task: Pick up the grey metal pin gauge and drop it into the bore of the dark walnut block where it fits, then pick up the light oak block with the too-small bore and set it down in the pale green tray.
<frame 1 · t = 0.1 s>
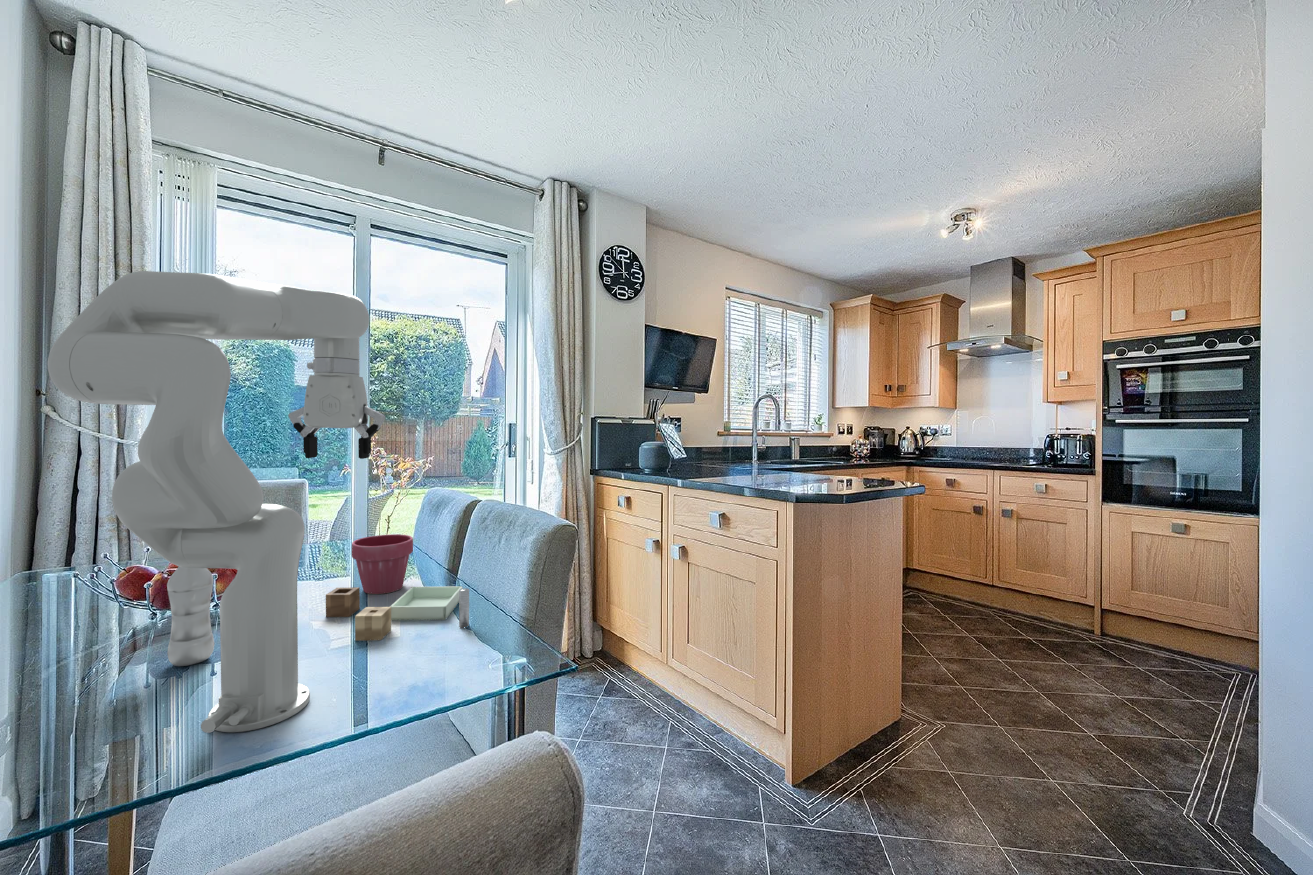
hand: (337, 457, 106), 37 cm above the table, tool pointing down, fingers open, 9 cm apart
tray: (428, 608, 128), on the table
plant pot: (383, 589, 141), on the table
walnut block: (343, 612, 124), on the table
plastic bottle: (191, 663, 99), on the table
oak block: (373, 635, 112), on the table
pin: (464, 626, 118), on the table
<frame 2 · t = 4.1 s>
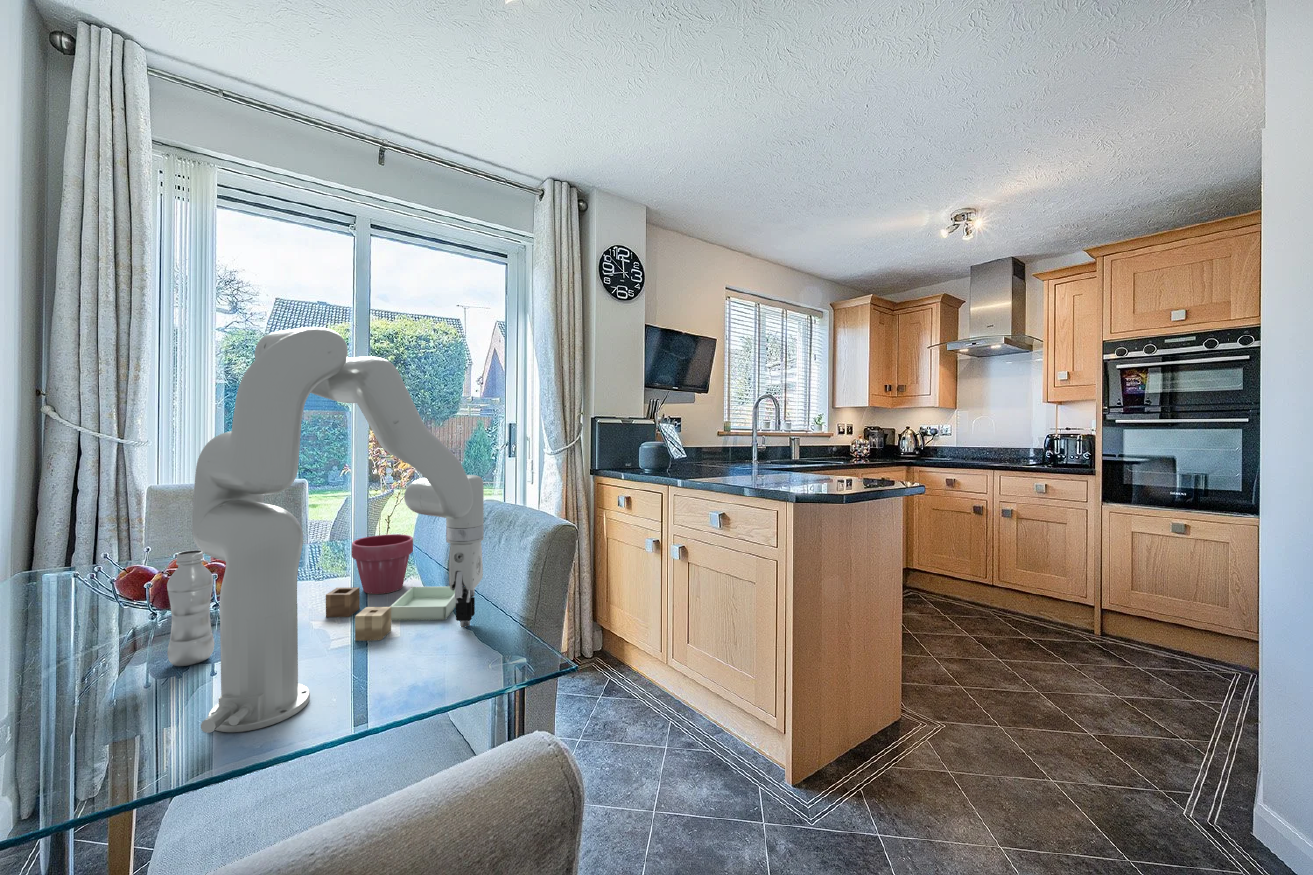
hand: (465, 617, 118), 2 cm above the table, tool pointing down, fingers closed on pin, 1 cm apart
pin: (465, 625, 118), on the table, touching gripper
everything else where it was.
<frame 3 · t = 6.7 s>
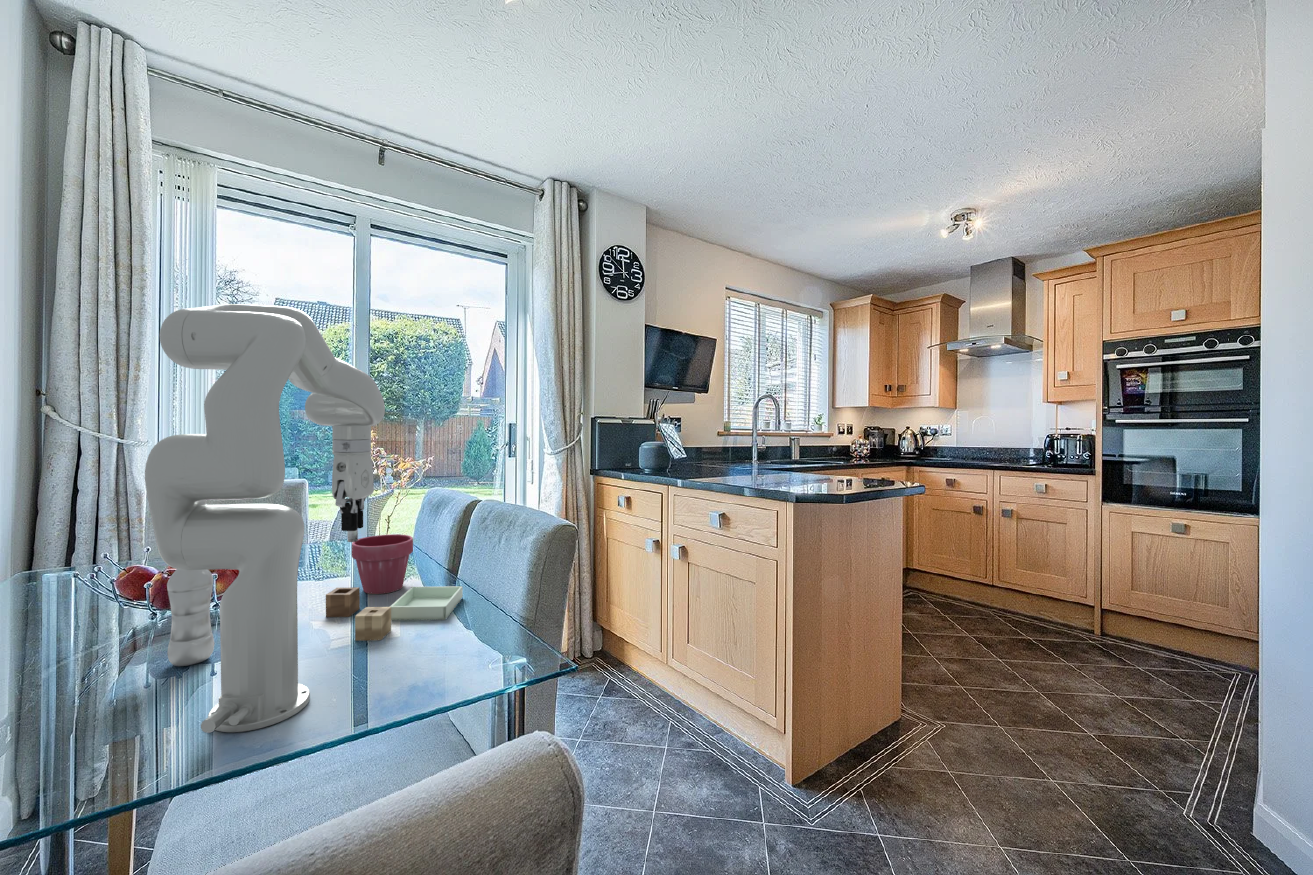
hand: (352, 528, 123), 19 cm above the table, tool pointing down, fingers closed on pin
pin: (352, 541, 123), point 17 cm above the table, touching gripper
everything else where it was.
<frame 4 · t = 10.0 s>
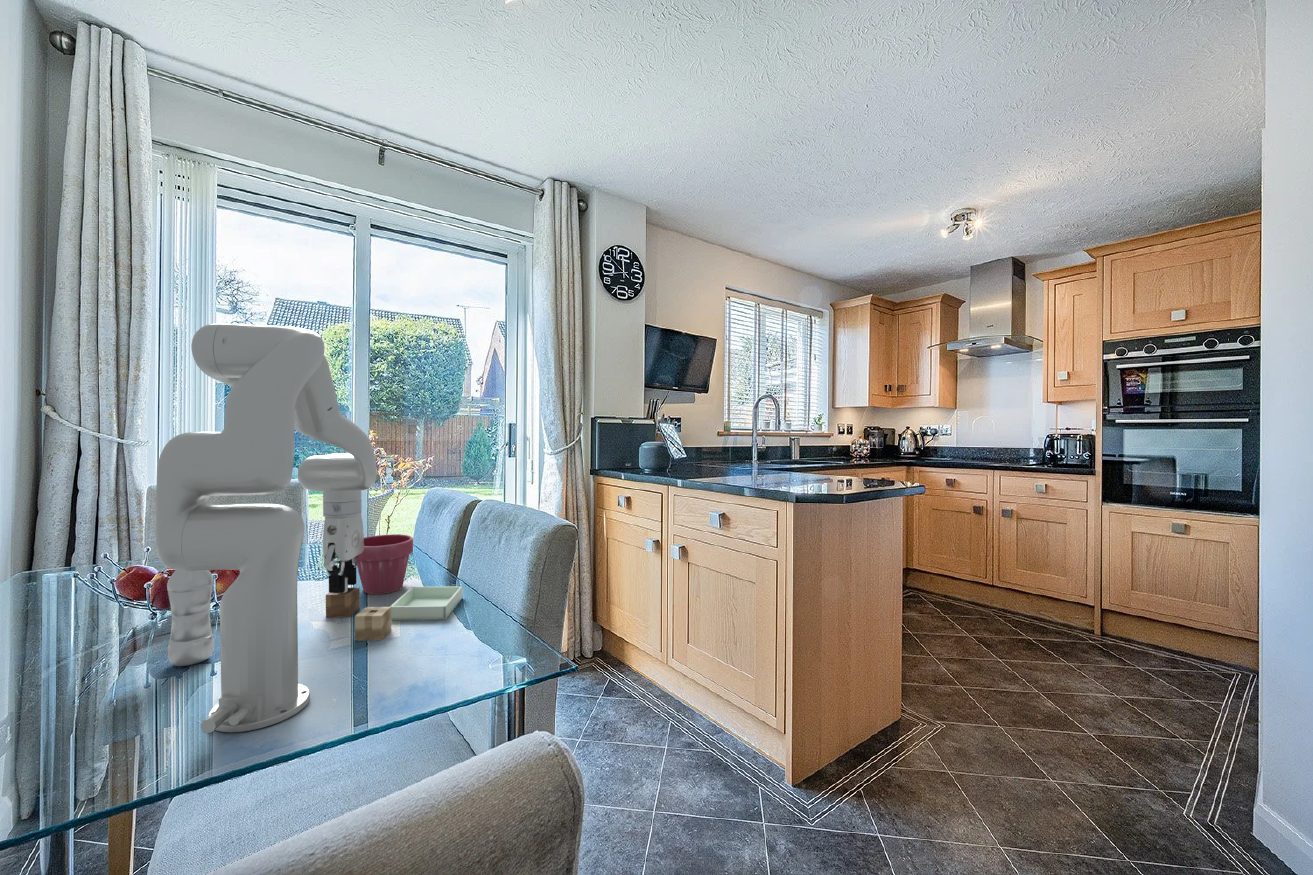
hand: (342, 587, 124), 6 cm above the table, tool pointing down, fingers open, 4 cm apart
pin: (342, 612, 124), resting in walnut block
everything else where it was.
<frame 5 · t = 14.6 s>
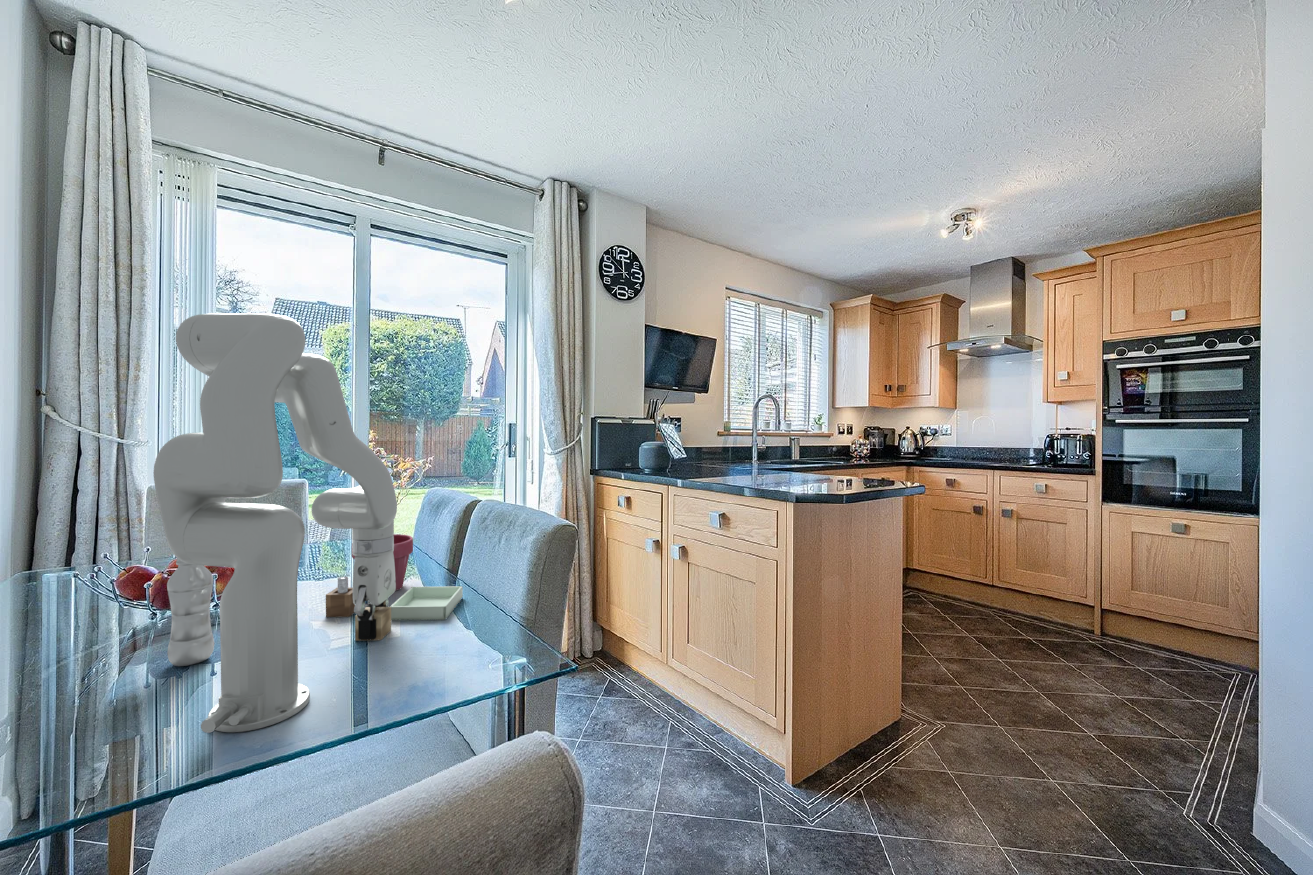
hand: (373, 632, 112), 1 cm above the table, tool pointing down, fingers closed on oak block, 5 cm apart
oak block: (373, 635, 112), on the table, touching gripper
everything else where it was.
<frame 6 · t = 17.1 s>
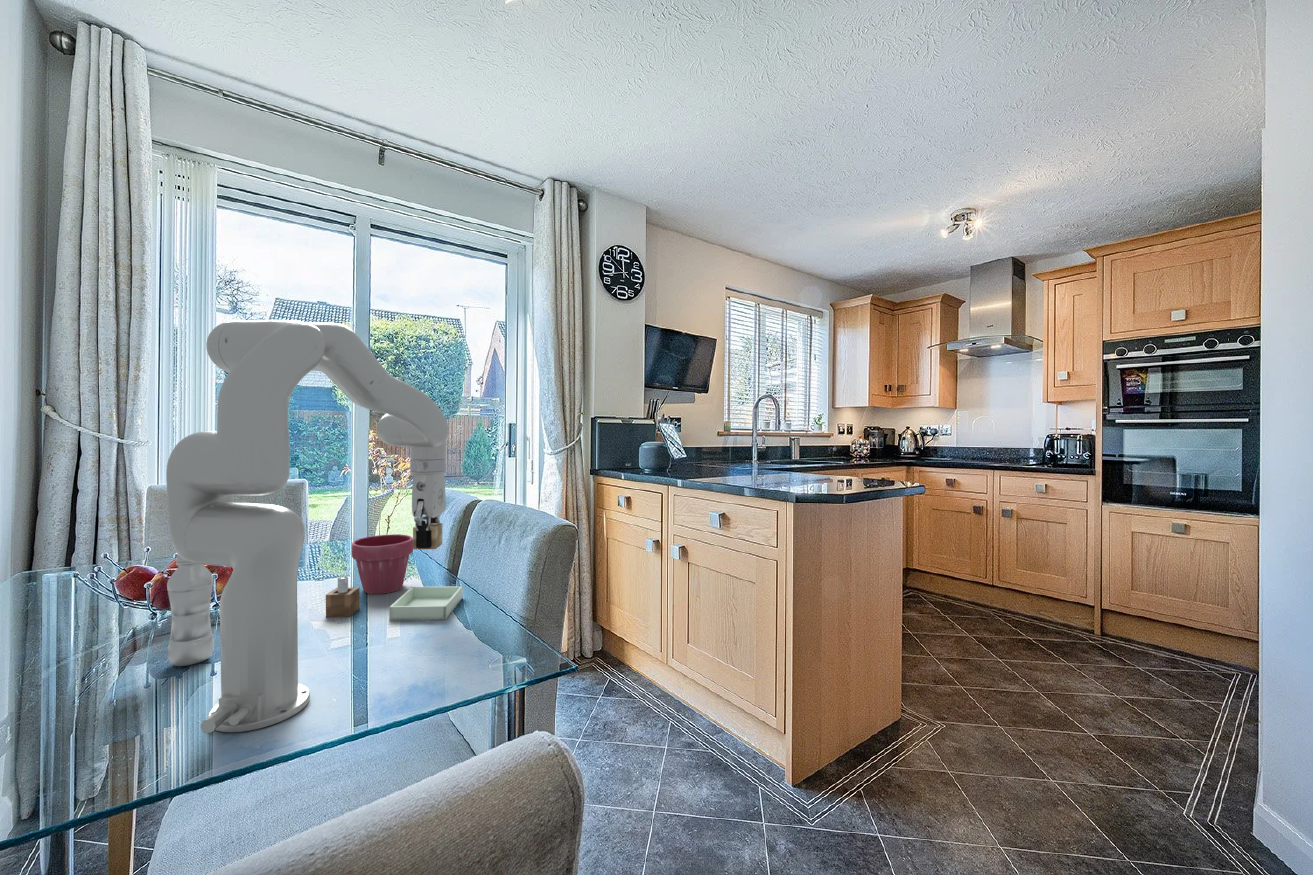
hand: (428, 544, 127), 15 cm above the table, tool pointing down, fingers closed on oak block, 5 cm apart
oak block: (428, 546, 127), point 15 cm above the table, touching gripper
everything else where it was.
when the fingers open (3 cm above the table, at t = 19.7 s): oak block drops 2 cm, resting on tray.
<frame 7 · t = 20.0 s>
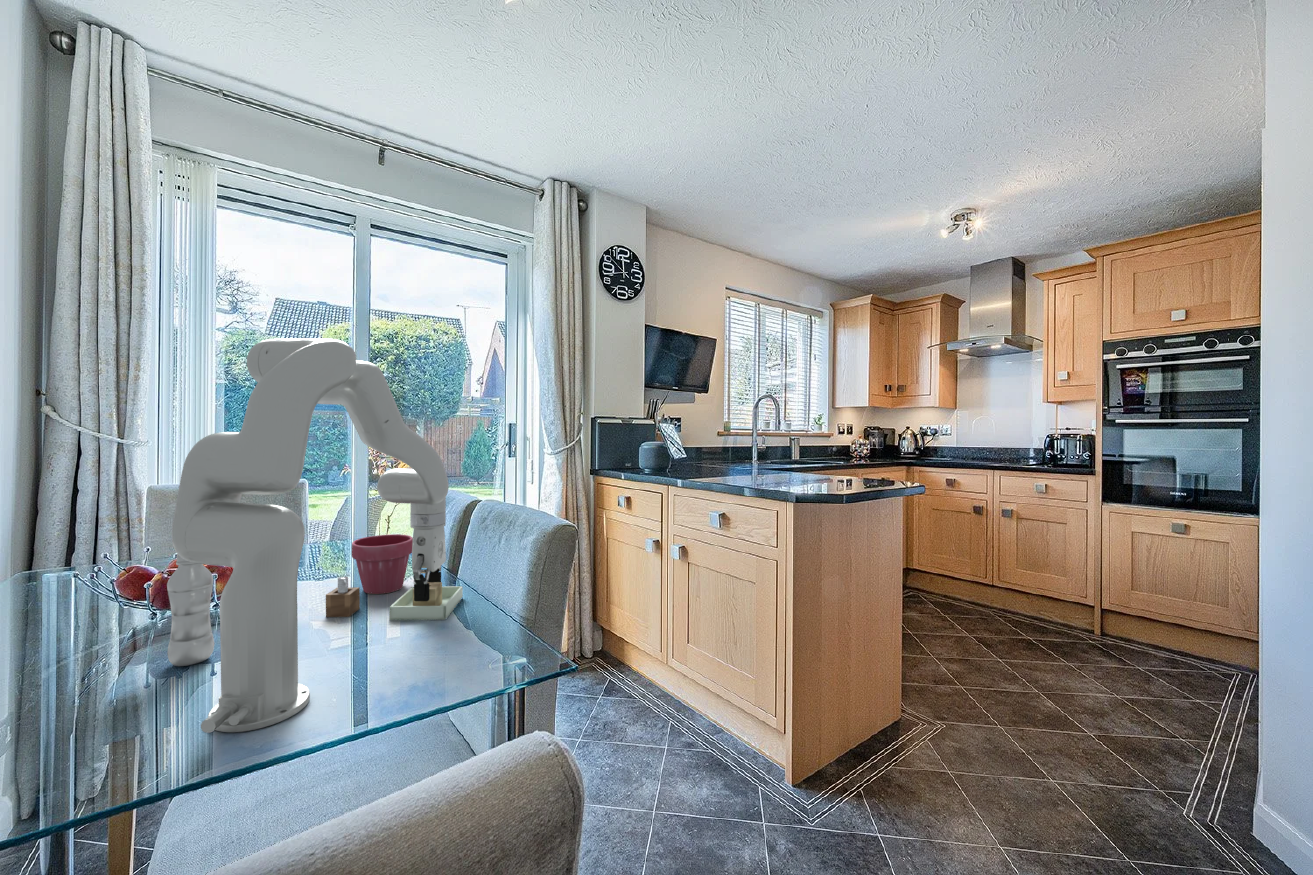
hand: (428, 594, 127), 3 cm above the table, tool pointing down, fingers open, 8 cm apart
oak block: (427, 606, 127), resting on tray
everything else where it was.
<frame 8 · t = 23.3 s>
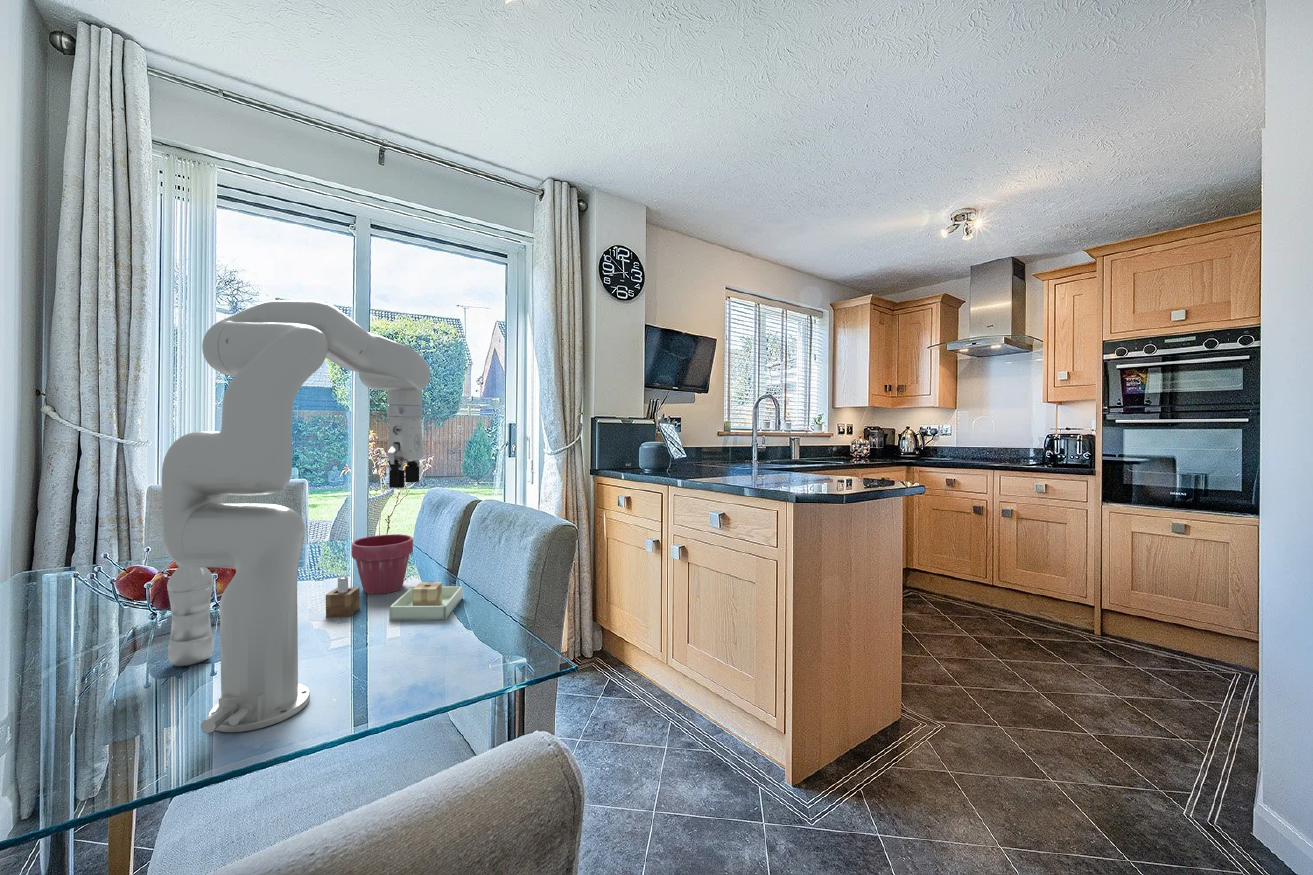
hand: (404, 484, 131), 28 cm above the table, tool pointing down, fingers open, 9 cm apart
nothing on the table moved.
at the end: oak block inside the target area on the tray (0.1 cm from its centre), point 0.5 cm above the tray's base; pin 0.1 cm from the walnut block (horizontally); pin resting in walnut block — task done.
